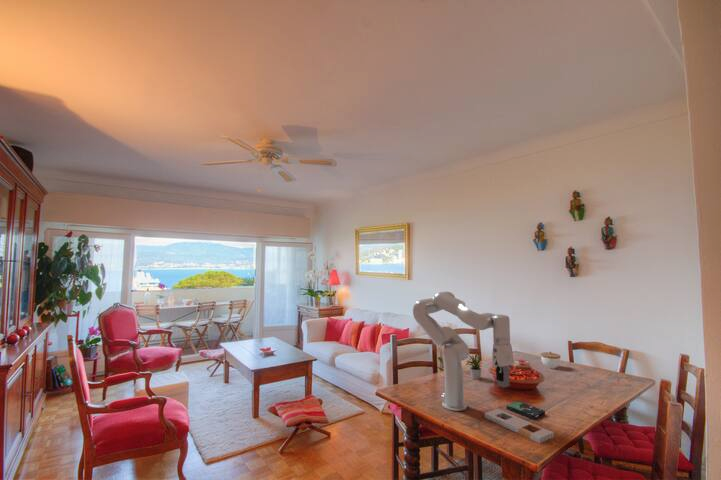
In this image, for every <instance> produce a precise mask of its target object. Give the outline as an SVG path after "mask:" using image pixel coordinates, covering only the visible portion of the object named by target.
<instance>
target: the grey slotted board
mask: <svg viewBox="0 0 721 480" xmlns="http://www.w3.org/2000/svg"><path fill="white" fill-rule="evenodd" d="M484 418H485V419H487V420H489V421H492V422H494V423H496V424H498V425H499V426H502V427H504V428H506V429H509V430H510V431H512V432H515V433H518V434H519V435H521V436H524V437H526V438H528V439H530V440H531V441H535V442H537V443H538V444H542V443H543V442H546V441H548V439H549V440H550V439H553V438H555V435H554V432H553V431H551V430H549V429H546V428H545V427H542V426H539V425H538V424H534V423H532V422H530V421H527V420H525V419H523V418H521V417H518V416H516V415H513V414H511V413H510V412H506V411H504V410H502V409H500V408H497V409H494V410H490V411H487V412H484ZM530 430H531V431H530Z"/></svg>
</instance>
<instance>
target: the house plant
mask: <svg viewBox="0 0 721 480" xmlns="http://www.w3.org/2000/svg"><path fill="white" fill-rule="evenodd" d="M468 357H469V360H466V361H465V362H466V363H467V366H468V367H469V370H470V376H471V379H472V380H480V379H481V374H482V373H481V372H482V368H481V367H482V365H481V361H482V360H483V359H484V357H482V358H481V356H480V354H478V353H477V352H476V353H475V354H474V355H473V354H472V355H470V354H469V356H468ZM470 366H471V367H470Z"/></svg>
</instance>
